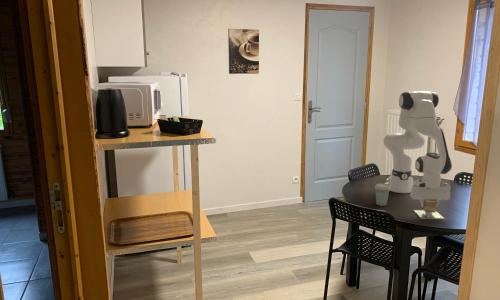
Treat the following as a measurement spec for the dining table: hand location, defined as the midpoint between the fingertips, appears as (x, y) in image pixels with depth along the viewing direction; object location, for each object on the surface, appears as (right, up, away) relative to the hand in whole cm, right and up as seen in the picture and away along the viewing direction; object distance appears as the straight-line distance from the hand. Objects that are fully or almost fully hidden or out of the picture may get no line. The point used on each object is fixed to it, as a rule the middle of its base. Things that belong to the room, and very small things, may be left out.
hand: (429, 206), depth 207 cm
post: (0, -5, +1) cm, 5 cm away
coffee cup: (-20, -1, +19) cm, 27 cm away
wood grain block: (0, -2, 0) cm, 2 cm away
